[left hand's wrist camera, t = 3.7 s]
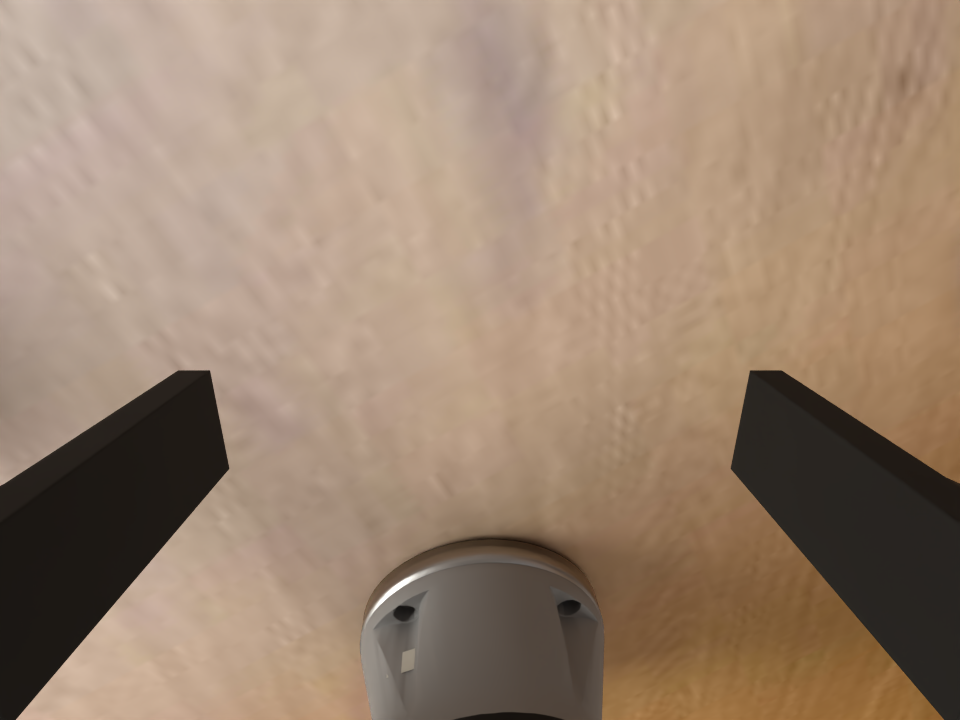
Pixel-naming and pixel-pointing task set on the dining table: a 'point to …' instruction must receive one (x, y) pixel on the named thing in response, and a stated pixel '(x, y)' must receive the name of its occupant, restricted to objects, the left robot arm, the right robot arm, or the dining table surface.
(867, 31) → the dining table surface
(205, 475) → the left robot arm
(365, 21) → the dining table surface
